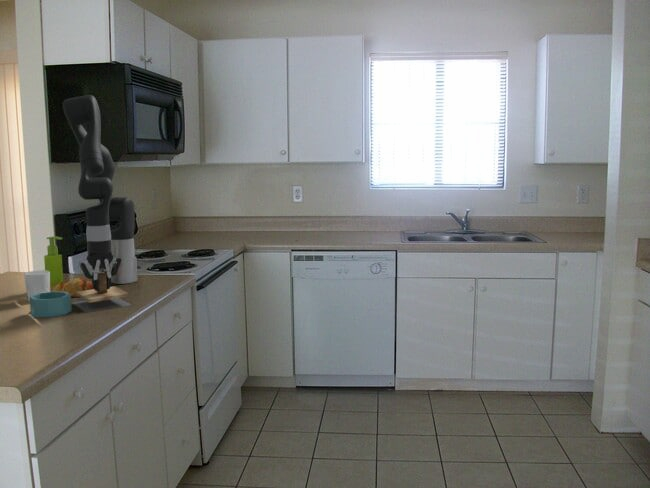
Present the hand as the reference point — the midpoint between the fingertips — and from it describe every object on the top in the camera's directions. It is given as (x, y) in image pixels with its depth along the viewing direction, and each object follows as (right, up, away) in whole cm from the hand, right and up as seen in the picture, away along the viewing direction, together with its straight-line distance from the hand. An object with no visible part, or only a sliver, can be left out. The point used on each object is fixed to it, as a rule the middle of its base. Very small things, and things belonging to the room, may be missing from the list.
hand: (102, 289), depth 203 cm
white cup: (-24, -5, +6) cm, 25 cm away
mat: (0, -5, +1) cm, 5 cm away
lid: (0, -2, 0) cm, 2 cm away
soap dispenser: (-25, -2, +22) cm, 33 cm away
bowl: (-12, -7, -10) cm, 17 cm away
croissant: (-14, -4, +15) cm, 21 cm away
